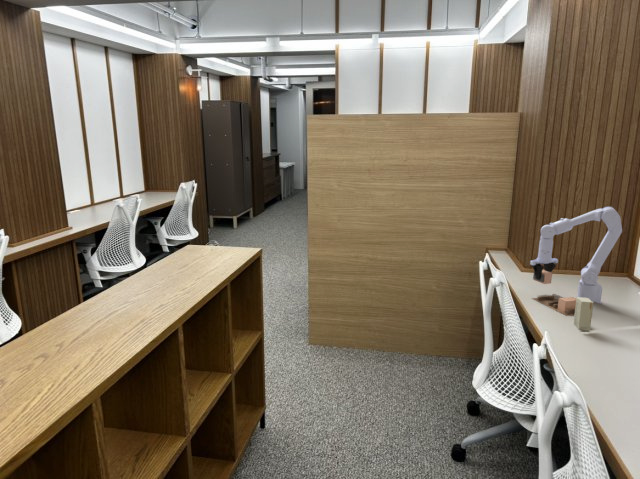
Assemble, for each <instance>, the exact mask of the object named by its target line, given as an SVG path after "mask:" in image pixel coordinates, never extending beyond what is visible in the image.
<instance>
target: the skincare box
mask: <svg viewBox="0 0 640 479" xmlns="http://www.w3.org/2000/svg"><path fill="white" fill-rule="evenodd" d="M593 308H594V302H592V301H591V300H590V299H589V298H583V297H577V296H576V307H575V315H573V325H574V327H575V328H576V329H577V330H578V331H579V330H580V332H584V333H590V332H591V324H592V319H593V318H592V317H593V316H592V315H593Z"/></svg>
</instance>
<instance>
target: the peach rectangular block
mask: <svg viewBox="0 0 640 479" xmlns="http://www.w3.org/2000/svg"><path fill="white" fill-rule="evenodd" d="M552 278H553V272H548V271H545V270H544V269H543V270H542V273H541V278H540V280H538V279H536V277H535V272H534V271H533V277H532V280H533V281H535V282H538V283H540V284H543V285H549V284H552Z"/></svg>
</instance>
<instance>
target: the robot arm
mask: <svg viewBox="0 0 640 479" xmlns="http://www.w3.org/2000/svg"><path fill="white" fill-rule="evenodd" d="M601 220H602V222H603V223H604V224H605V225H606V227H607V232H606V234H605V235H604V237H603V238H602V240H601V242H600V244H599V246H598V247H597V249H596V251H595V253H594V254H593V255H592V257H591V259H590V261H588V263H587V264H586V266H584V267H583V268H582V269H581V270H580V275H581V278H580V280H578V287H577V295H576V298H577V297H583V298H589V299H590V300H591V301H592V302H593V303H597V304H603V302H602V296H603V286H602V285H601V284H600V283H599V282H598V279H599V278H598V277H599V274H600V272H601V269H602V267H603V265H604V263H605V261H606V260H607V258H608V256H609V255H610V253H611V251H612V249H614V246H615V244H616V243H617V242H618V239H619V238H620V236H621V235H622V233H623V227H622V219H621V216H620V214H619V212H618V211H617V210H616V209H615V208H614V207H613V206H604V207H603V208H601V207H600V208H596V209H594V210H591V211H588V212H586V213H584V214H581V215H578V216H576V217H573V218H571V219H570V218H567V217H565V218H563V217H561V218H560V219H559V220H557V221H555V222H550V223H549V224H545V225H543V226H542V227H541V228H540V237H539V238H540V239H539V242H538V243H539V244H538V252H537V257H536V259H532V260H530V261H529V265H531V267H532V268H533V273H534V272H535V277H536V279H538V280H540V278H541V273H542V270H545V271H548V272H551V273H553V270H554V269H555V268H556V267H557V265H556V264H558V262H559V259H558V258H556V257H553V258H552V254H553V247H554V236H555V235H557V236H559V235H561V234H563V233H566V232H569V231H571V230H572V229H573V227H575V226H578V225H581V224H584V223H588V222H590V221H597V222H601ZM542 265H543V266H542Z"/></svg>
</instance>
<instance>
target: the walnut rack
mask: <svg viewBox="0 0 640 479" xmlns="http://www.w3.org/2000/svg"><path fill="white" fill-rule="evenodd" d="M559 298H564V297H562V296H561V295H558V294H556V293H552V295H542V296H540V295H539V296H537V297H532V298H531V300H533V301H535V302H538V303H539V304H542V305H543V306H545V307H547V308H549V309H552V310H553V311H555V312H557V313H559V314H561V315H563V316H565V317H571V316H575V309H574V310H566V312H562V311H560V310H558V300H559Z"/></svg>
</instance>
